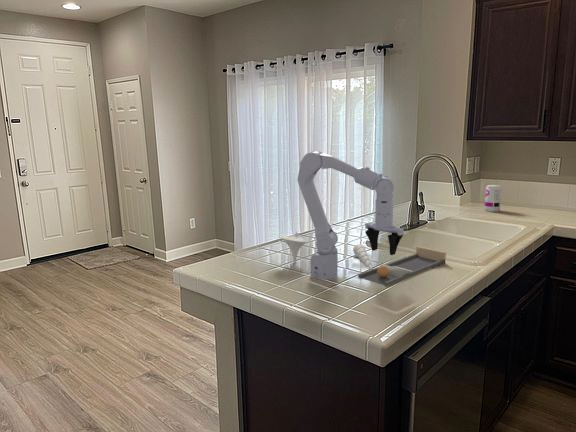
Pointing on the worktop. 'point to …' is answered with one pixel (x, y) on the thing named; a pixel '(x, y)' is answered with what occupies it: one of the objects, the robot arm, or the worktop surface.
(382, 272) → the ball
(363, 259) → the unicorn horn
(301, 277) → the worktop surface
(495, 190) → the supplement can
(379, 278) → the divided tray
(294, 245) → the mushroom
